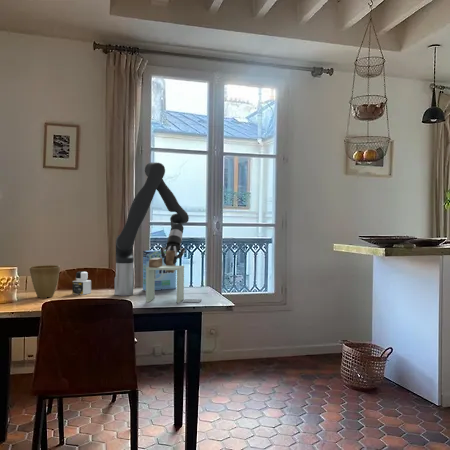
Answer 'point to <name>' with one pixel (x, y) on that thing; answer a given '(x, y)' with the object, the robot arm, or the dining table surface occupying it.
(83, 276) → the medicine bottle
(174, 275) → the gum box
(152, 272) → the shelf
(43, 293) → the plant pot
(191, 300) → the mat
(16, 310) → the dining table surface
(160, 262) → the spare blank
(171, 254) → the block
